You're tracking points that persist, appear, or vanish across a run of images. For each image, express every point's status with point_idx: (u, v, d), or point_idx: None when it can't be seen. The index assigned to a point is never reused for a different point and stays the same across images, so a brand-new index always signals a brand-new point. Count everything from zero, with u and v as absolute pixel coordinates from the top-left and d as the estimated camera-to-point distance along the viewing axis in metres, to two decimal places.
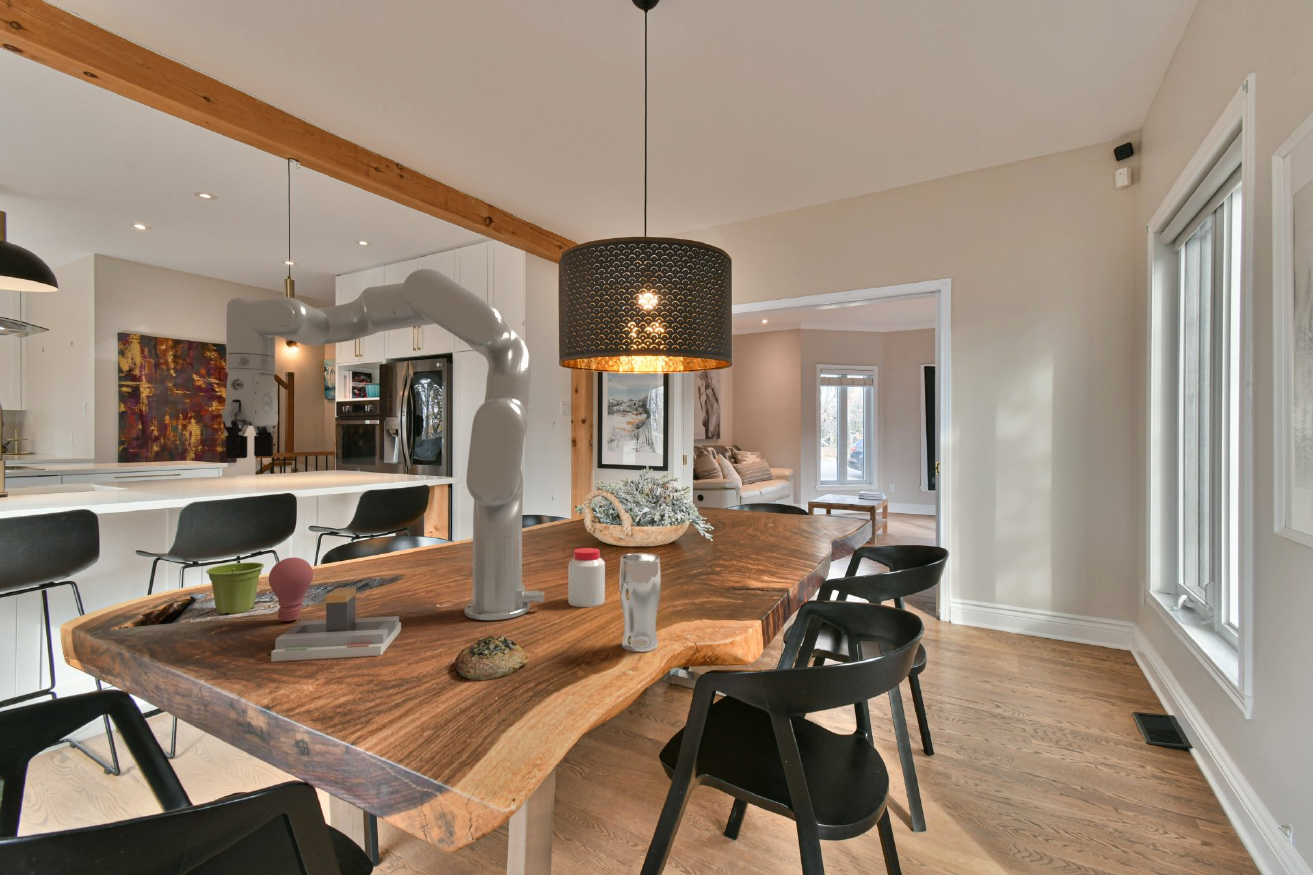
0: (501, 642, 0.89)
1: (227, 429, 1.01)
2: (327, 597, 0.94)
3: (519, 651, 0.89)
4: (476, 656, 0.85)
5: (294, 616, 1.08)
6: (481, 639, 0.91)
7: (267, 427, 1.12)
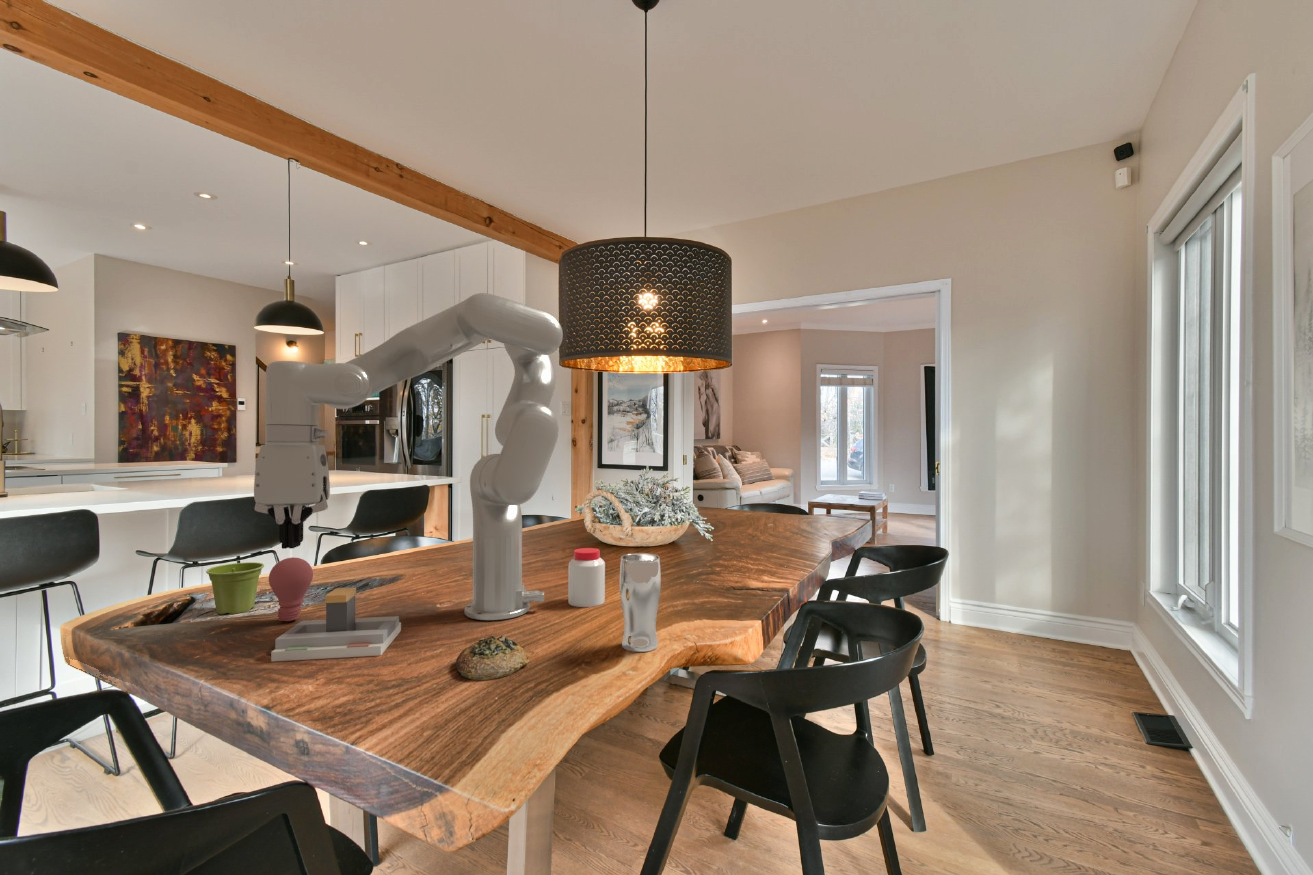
0: (502, 642, 0.89)
1: (306, 516, 0.95)
2: (327, 597, 0.94)
3: (520, 651, 0.89)
4: (477, 656, 0.85)
5: (294, 616, 1.08)
6: (482, 639, 0.91)
7: (289, 506, 0.97)
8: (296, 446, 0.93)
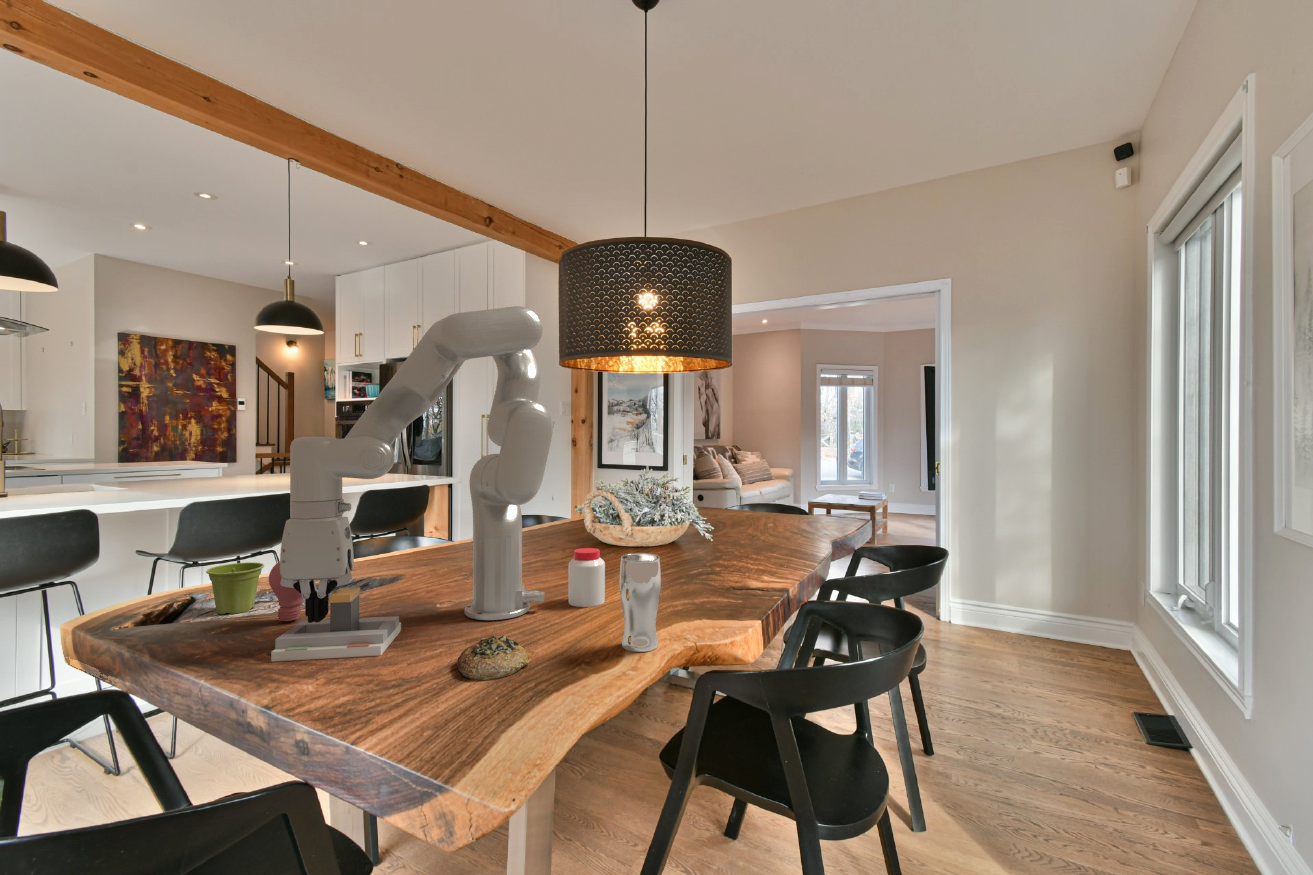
0: (503, 642, 0.89)
1: (332, 589, 0.96)
2: (331, 597, 0.94)
3: (521, 651, 0.89)
4: (478, 656, 0.85)
5: (294, 616, 1.08)
6: (483, 639, 0.91)
7: (314, 579, 0.97)
8: (321, 522, 0.94)
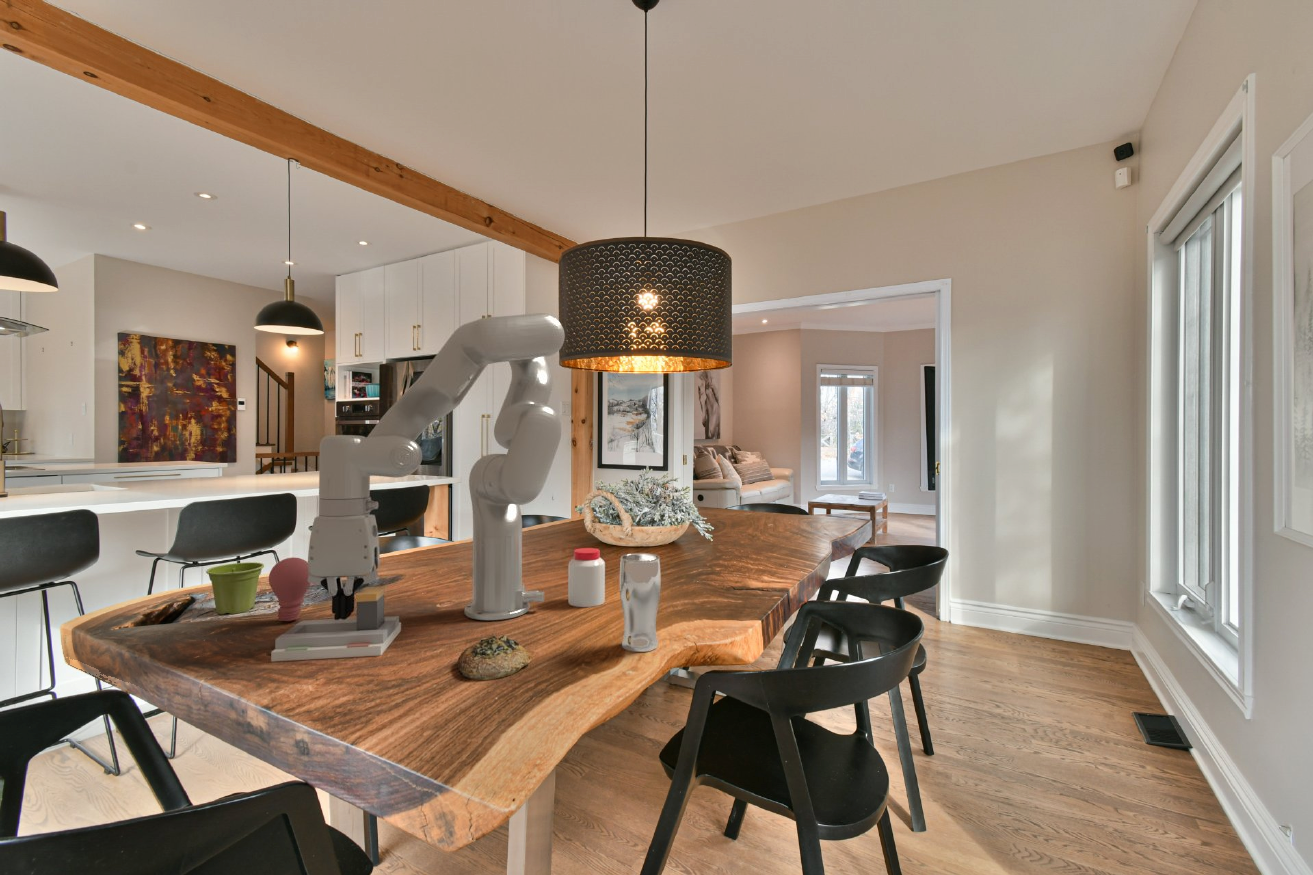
0: (504, 642, 0.89)
1: (358, 587, 0.97)
2: (358, 596, 0.95)
3: (522, 651, 0.89)
4: (479, 656, 0.85)
5: (294, 616, 1.08)
6: (484, 639, 0.91)
7: (340, 577, 0.98)
8: (349, 519, 0.95)
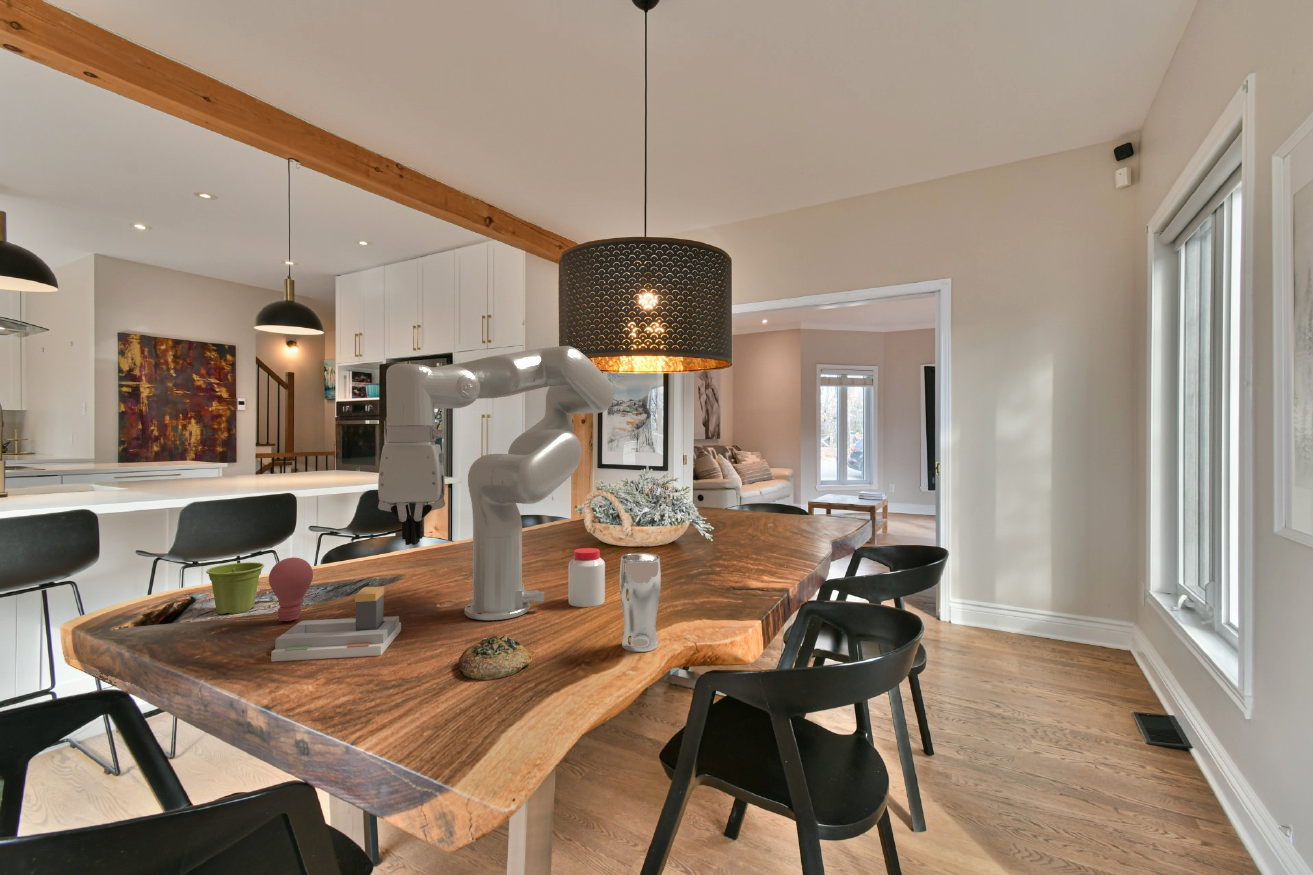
0: (505, 642, 0.89)
1: (426, 513, 0.99)
2: (357, 596, 0.95)
3: (522, 651, 0.89)
4: (480, 656, 0.85)
5: (294, 616, 1.08)
6: (485, 639, 0.91)
7: (408, 504, 1.00)
8: (417, 446, 0.97)
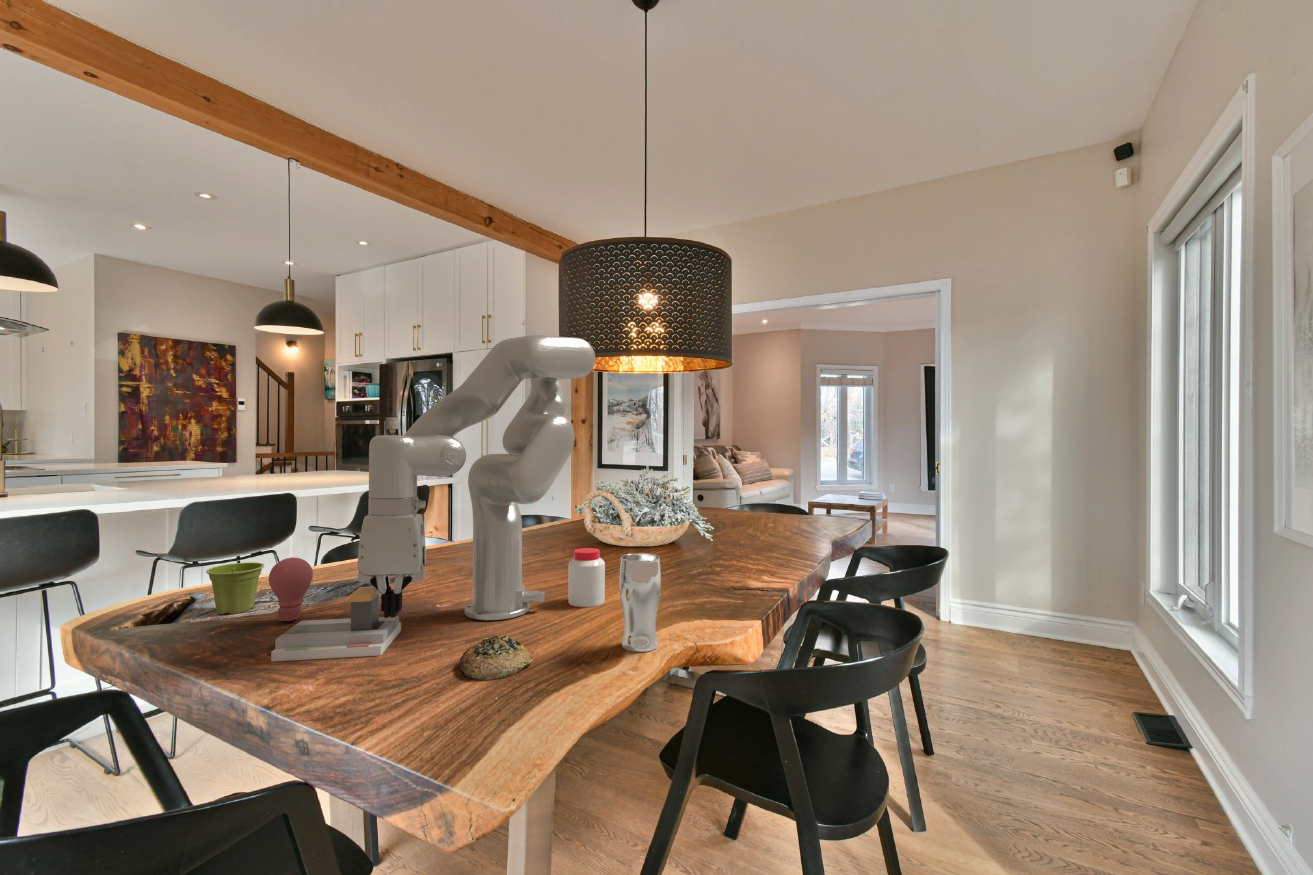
0: (506, 642, 0.89)
1: (406, 585, 0.98)
2: (352, 596, 0.95)
3: (523, 651, 0.89)
4: (481, 656, 0.85)
5: (294, 616, 1.08)
6: (486, 639, 0.91)
7: (388, 575, 0.99)
8: (399, 518, 0.96)
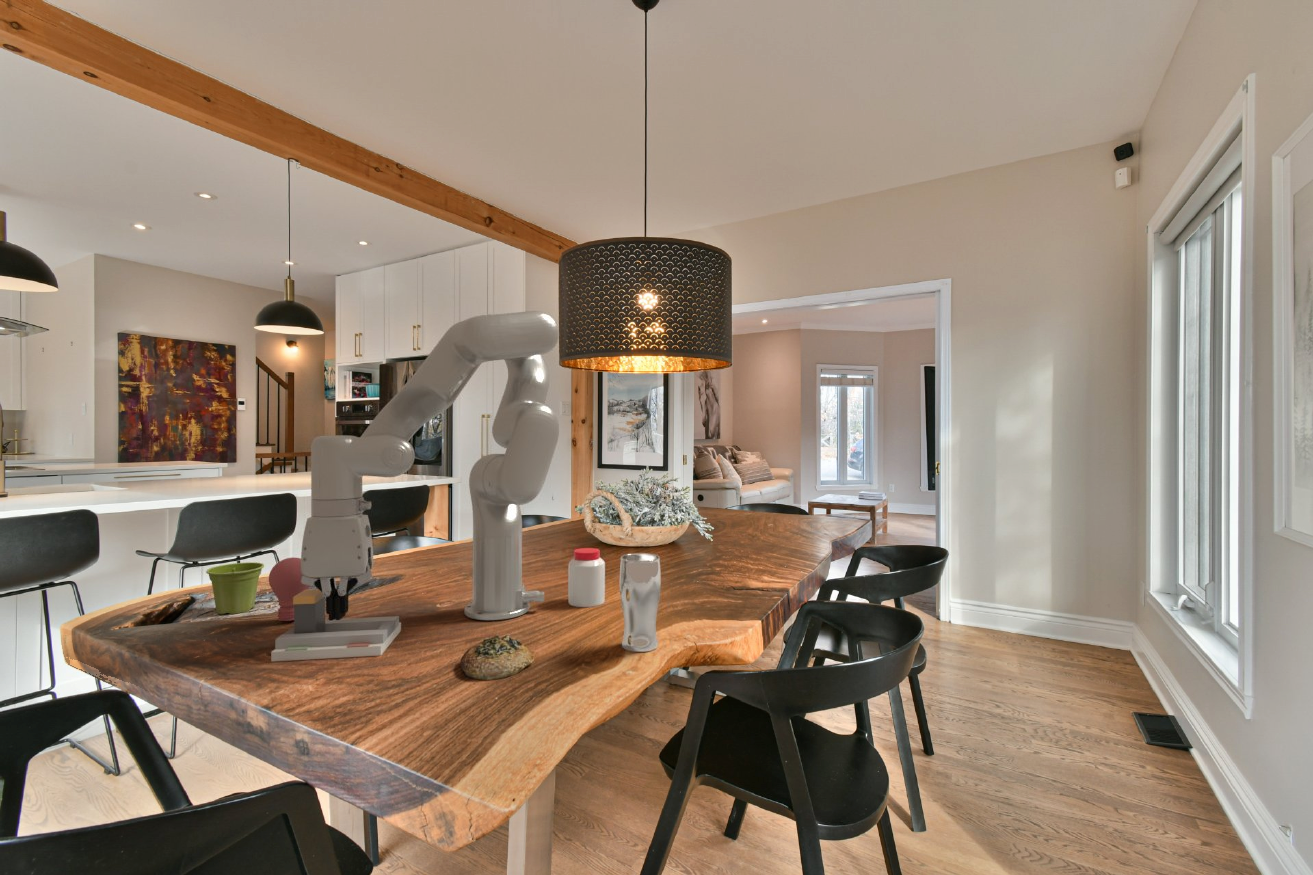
0: (506, 642, 0.89)
1: None
2: (295, 598, 0.94)
3: (524, 651, 0.89)
4: (482, 656, 0.85)
5: None
6: (487, 639, 0.91)
7: None
8: (342, 520, 0.95)
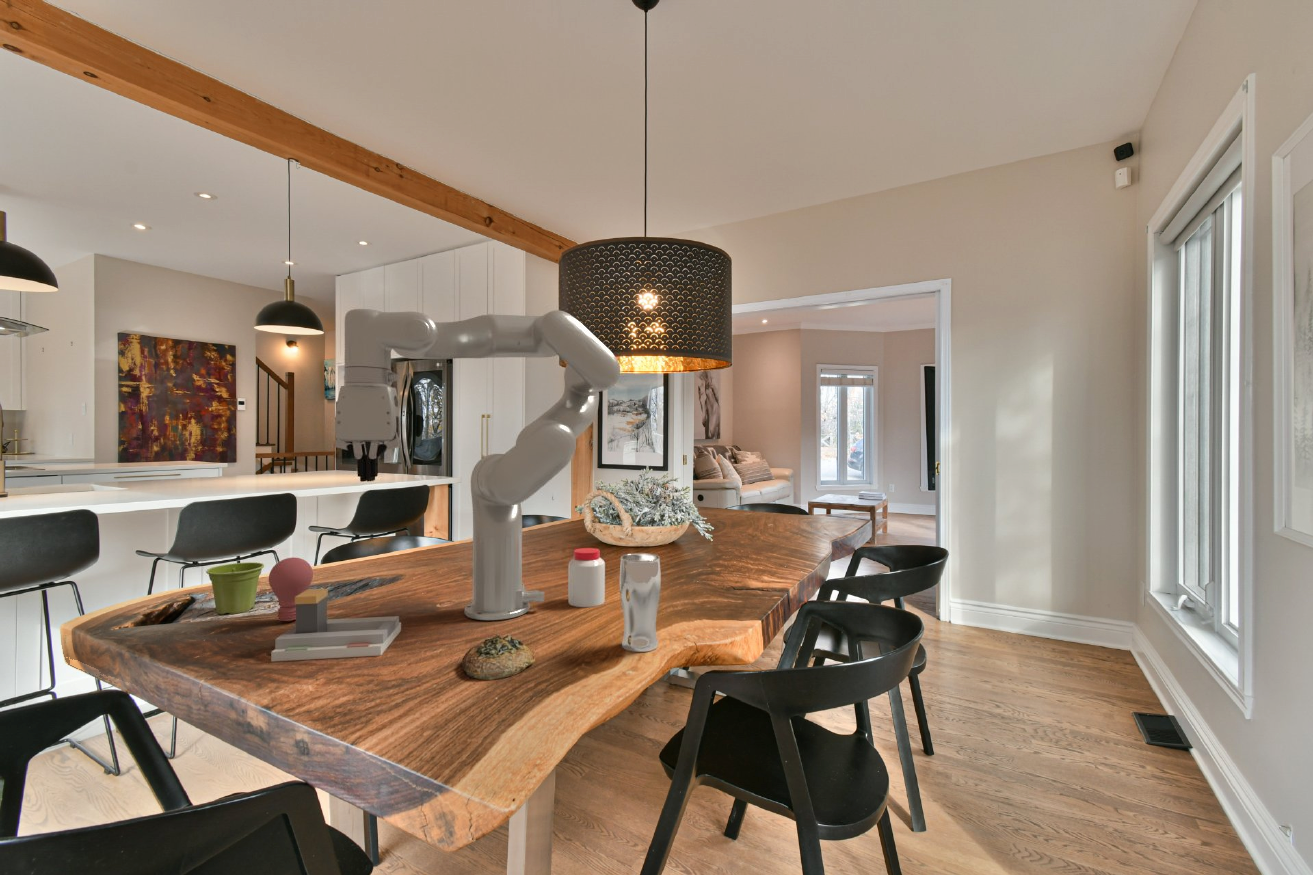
0: (508, 642, 0.89)
1: (381, 452, 1.04)
2: (297, 598, 0.94)
3: (526, 651, 0.89)
4: (483, 656, 0.86)
5: (294, 616, 1.08)
6: (488, 639, 0.91)
7: (364, 444, 1.05)
8: (373, 387, 1.02)
